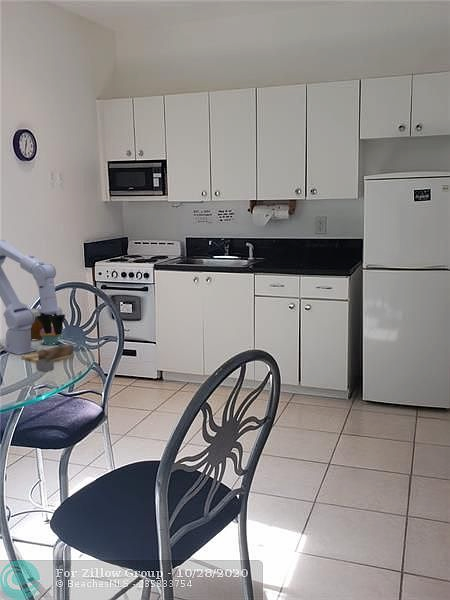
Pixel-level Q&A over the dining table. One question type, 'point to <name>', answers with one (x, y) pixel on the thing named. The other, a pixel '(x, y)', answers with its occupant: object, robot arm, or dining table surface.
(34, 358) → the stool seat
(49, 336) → the cupcake
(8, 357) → the dining table surface
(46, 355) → the hinged leg
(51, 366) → the stop block
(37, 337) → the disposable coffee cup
